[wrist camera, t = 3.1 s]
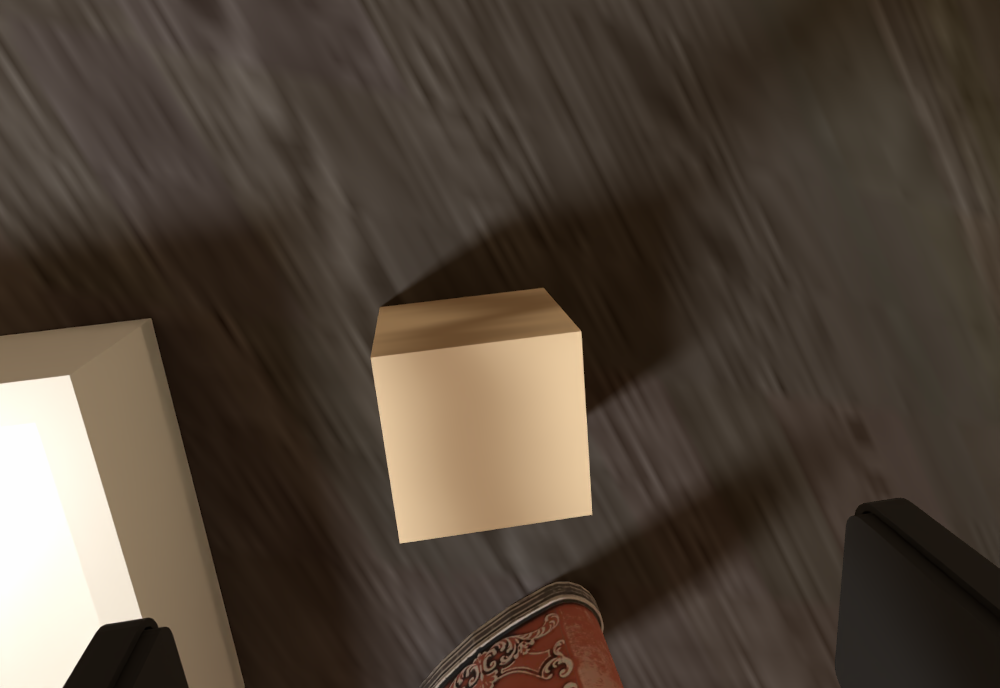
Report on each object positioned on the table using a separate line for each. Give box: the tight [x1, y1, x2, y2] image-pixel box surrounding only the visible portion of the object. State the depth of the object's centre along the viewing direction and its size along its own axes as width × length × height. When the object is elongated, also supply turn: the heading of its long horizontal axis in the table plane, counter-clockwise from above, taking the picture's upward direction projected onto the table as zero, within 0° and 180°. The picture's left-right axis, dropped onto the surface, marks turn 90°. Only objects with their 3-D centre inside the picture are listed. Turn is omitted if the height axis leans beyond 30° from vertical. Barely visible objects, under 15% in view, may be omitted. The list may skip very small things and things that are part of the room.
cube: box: [371, 288, 592, 543], centre depth 19 cm, size 5×5×5 cm
